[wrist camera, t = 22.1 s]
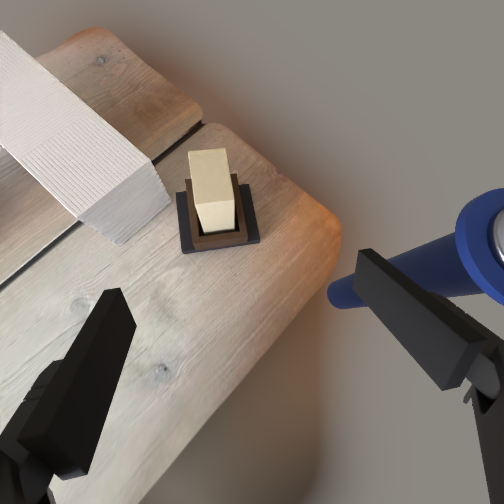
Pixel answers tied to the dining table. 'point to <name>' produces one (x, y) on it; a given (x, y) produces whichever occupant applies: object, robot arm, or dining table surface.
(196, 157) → the cream rectangular block
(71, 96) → the stack of papers
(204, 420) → the dining table surface
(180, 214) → the square socket base
